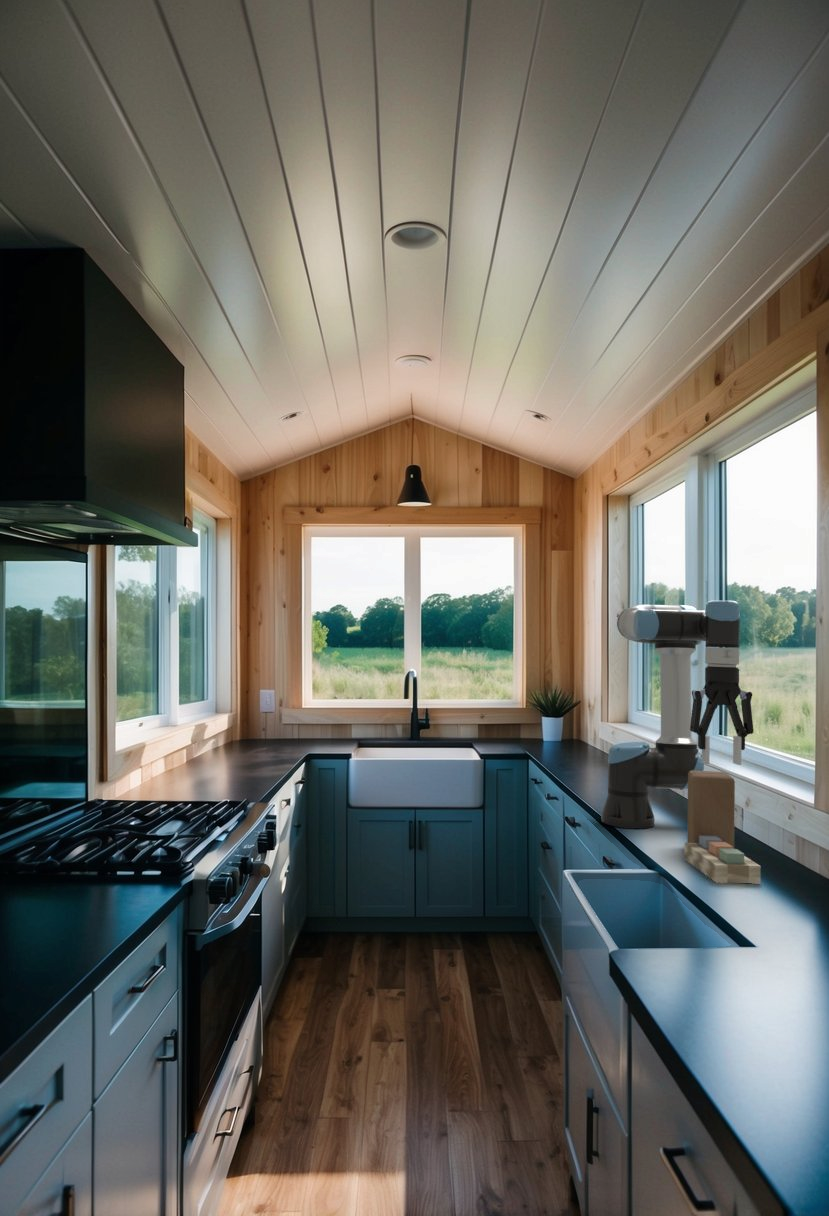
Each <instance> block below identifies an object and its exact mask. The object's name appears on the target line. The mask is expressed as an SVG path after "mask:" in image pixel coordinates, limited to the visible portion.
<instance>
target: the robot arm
mask: <svg viewBox="0 0 829 1216" xmlns="http://www.w3.org/2000/svg"><path fill="white" fill-rule="evenodd" d="M740 620H741V614H740V605H739V603H738V601H735V600H709V601H707V602H706V604H705V609H704V610H697V608H696V607H694V606H692V605H682V604H637V605H634V606H630V607H628V608H625V609H624V610H622V611H621V612H620V614H619V615H618V618H617V621H616V626H617V627H616V628H617V630H618V632H619V633H620V635H621V636H622V637H623V638H624V639H627V640H630V641H631V642H637V643H641V644H654V650H655V652H657V654H659V656H660V657H659V658H660V659H659V661H660V662H659V663H660V667H659V668H660V736H659V737H658V738H657V739H656V740H655V747H651V746H650V744H649V743H648V742H647V741H646V742H644V741H631V742H630V741H629V742H621V743H617V744H613V745H612V746H610V747H609V749H608V757H607V796H606V799H605V802H604V805H603V808H602V811H601V815H600V816H601V817H600V819H601V822H602V823H603V824H606V825H609V826H612V827H616V828H622V827H623V828H622V829H635V828H640V829H647V828H653V827H654V826H655V823H656V821H655V820H656V819H655V815H654V811H653V807H652V805H651V800H650V797H649V793H650V790H649V789H668V790H669V789H671V790H674V789H675V790H680V791H682V790H688V773H689V771H692V770H696V771H705V770H704V769H705V765H710V745H711V743H710V737H711V736H710V735H707V734H708V731H709V728H710V724H711V722H712V720H713V717H714V714H715V711H716V709H718V707H719V706H725V707H726V708H727V710H728V713H729V716H730V719H731V721H732V724H733V727H734V730H735V733H736V735H733V736H732V739H733V741H732V742H733V743H732V745H733V746H732V750H733V751H732V753H733V754H732V763H733V764H735V765H740V766H741V765H742V751H745V748H746V737H747V736H748V735H753V734H754V733H755V732H754V730H755V729H754V722H753V712H752V698H753V693H752V692H751V691H746V690H741V688H740V686H739V683H740V668H739V667H737V666H738V665H739V664H740V626H741V625H740V624H741V623H740ZM702 642H705V645H704V647H705V648H704V649H705V650H704V651H705V653H704V655H705V656H704V664H706V665H707V666H705V668H704V686H703V687H702V689H698V690H697V689H693V690H692V677H691V676H692V674H691V671H692V670H691V657H692V655H693V654H694V652H696V649H697V646H698V645H700V644H701V643H702ZM691 690H692V691H691ZM704 695H705V696H706V697H707V701H706V705H705V710H704V713H703V715H702V709H703V708H702V705H703V699H704V698H705V697H704ZM738 697H739V698H740V704H741V713H742V718H741V716H740V713H739V709H738V704H737V700H736V699H738ZM701 716H702V718H701ZM692 733H694V734H697V742H696V740H695V739H694V738H693V737H692Z"/></svg>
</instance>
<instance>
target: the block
mask: <svg viewBox="0 0 829 1216" xmlns="http://www.w3.org/2000/svg"><path fill="white" fill-rule="evenodd" d="M735 783H736V781H735V779H734V777H733V776H731V775H730V774H729V773H728V772H726V771H714V770H713V771H711V770H710V771H709V770H704V771H696V770H692V771H689V773H688V789H687V838H686V839H687V842H686V843H699V836H716V837H718V838H720V839H721V840H722V842H726V843H728V844H729V845H731V846H733V849H735V808H736V807H735V799H736V798H735V797H736V796H735V793H736V792H735V790H736V789H735V788H736V786H735V785H736V784H735Z"/></svg>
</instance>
